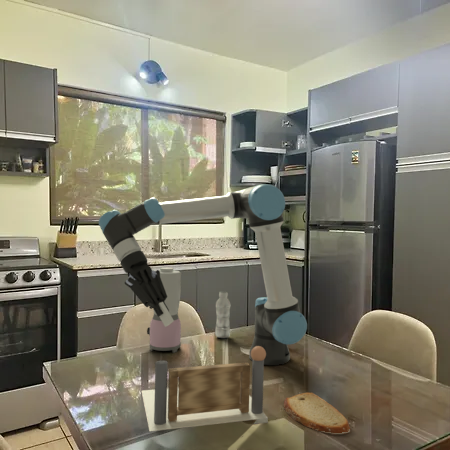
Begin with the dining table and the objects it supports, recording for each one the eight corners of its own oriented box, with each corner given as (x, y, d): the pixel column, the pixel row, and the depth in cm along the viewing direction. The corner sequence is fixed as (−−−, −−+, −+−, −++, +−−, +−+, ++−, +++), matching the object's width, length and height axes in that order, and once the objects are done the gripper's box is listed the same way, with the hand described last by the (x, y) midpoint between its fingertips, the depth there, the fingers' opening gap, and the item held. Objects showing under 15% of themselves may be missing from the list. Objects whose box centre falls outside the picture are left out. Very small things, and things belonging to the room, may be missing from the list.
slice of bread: (351, 438, 101) (351, 423, 101) (276, 426, 105) (277, 412, 105) (350, 407, 118) (350, 394, 118) (286, 398, 123) (286, 385, 123)
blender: (184, 345, 170) (186, 267, 170) (176, 354, 158) (178, 270, 158) (146, 342, 172) (148, 265, 172) (136, 352, 160) (138, 269, 160)
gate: (168, 421, 103) (170, 371, 103) (167, 417, 105) (168, 368, 105) (248, 412, 109) (250, 364, 109) (246, 408, 111) (247, 362, 111)
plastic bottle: (228, 340, 179) (229, 293, 178) (213, 339, 180) (214, 293, 180) (231, 336, 185) (232, 291, 185) (216, 335, 186) (217, 290, 186)
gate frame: (240, 385, 130) (242, 326, 130) (269, 422, 107) (271, 350, 107) (141, 394, 122) (142, 331, 121) (149, 436, 99) (151, 358, 98)
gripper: (139, 259, 133) (176, 323, 127) (107, 266, 123) (146, 337, 116) (152, 246, 130) (191, 311, 123) (120, 252, 119) (161, 324, 113)
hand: (169, 323), depth 120 cm, fingers closed
